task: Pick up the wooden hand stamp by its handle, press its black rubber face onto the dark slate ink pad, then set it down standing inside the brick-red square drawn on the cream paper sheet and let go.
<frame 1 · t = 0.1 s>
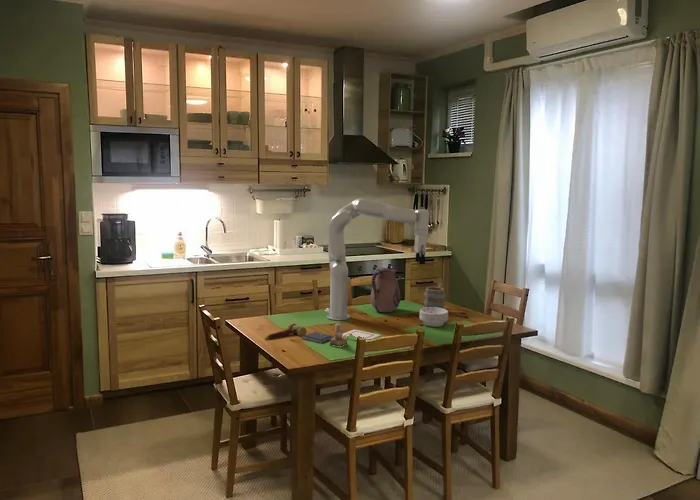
hand: (420, 262, 314), 31 cm above the table, tool pointing down, fingers open, 9 cm apart
gavel: (283, 337, 278), on the table
paper bowls: (433, 324, 304), on the table
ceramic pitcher: (383, 311, 330), on the table
stamp: (338, 345, 265), on the table
ink pad: (318, 338, 275), on the table
paper sheet: (358, 336, 280), on the table
tankard: (436, 310, 335), on the table
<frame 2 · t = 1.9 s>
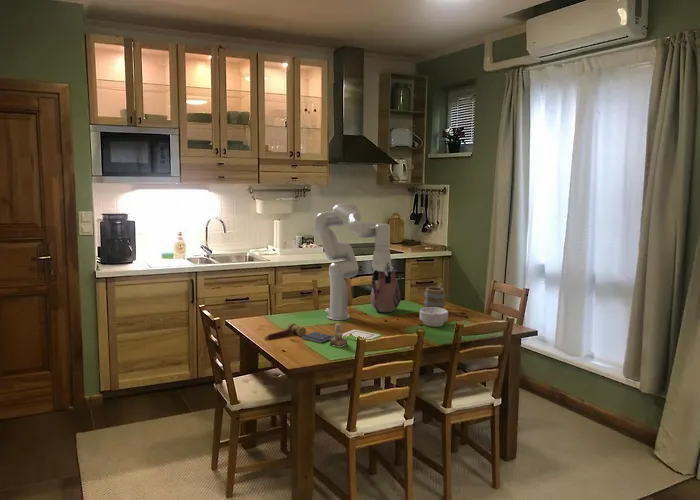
hand: (381, 281, 286), 26 cm above the table, tool pointing down, fingers open, 9 cm apart
nothing on the table moved.
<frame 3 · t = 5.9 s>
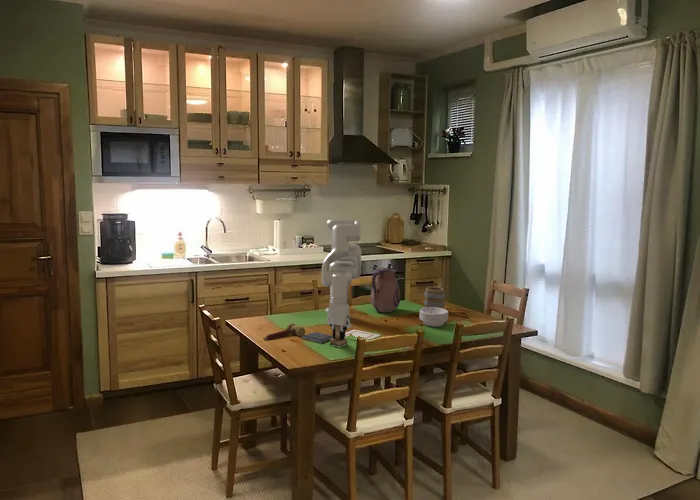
hand: (338, 338, 265), 3 cm above the table, tool pointing down, fingers closed on stamp, 3 cm apart
stamp: (338, 345, 265), on the table, touching gripper
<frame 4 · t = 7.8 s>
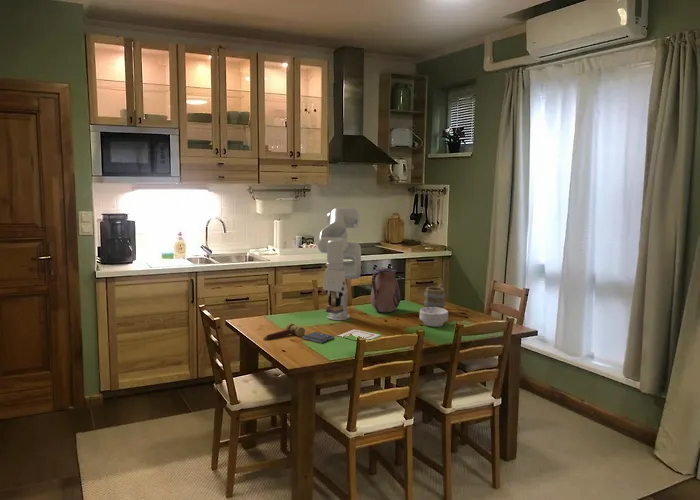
hand: (334, 304, 265), 19 cm above the table, tool pointing down, fingers closed on stamp, 3 cm apart
stamp: (334, 311, 265), point 15 cm above the table, touching gripper
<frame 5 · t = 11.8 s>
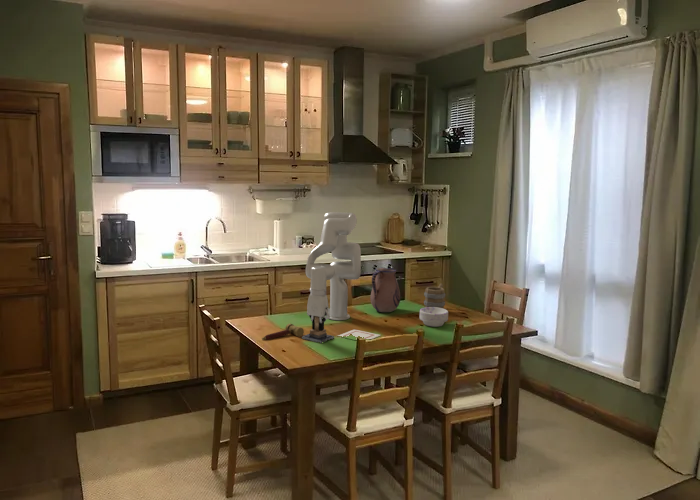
hand: (318, 329, 274), 5 cm above the table, tool pointing down, fingers closed on stamp, 3 cm apart
stamp: (317, 335, 274), point 2 cm above the table, touching gripper, ink pad
when the fingers open (4 cm above the table, at t = 17.9 s): stamp stays where it is, resting on paper sheet.
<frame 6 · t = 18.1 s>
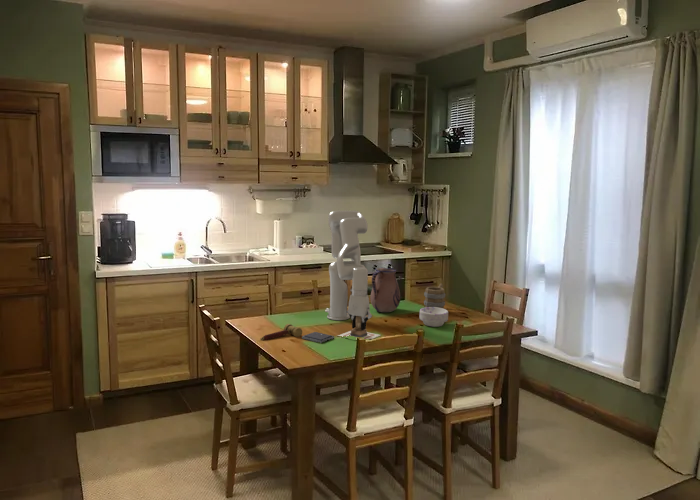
hand: (358, 328, 280), 4 cm above the table, tool pointing down, fingers open, 4 cm apart
stamp: (358, 335, 280), resting on paper sheet
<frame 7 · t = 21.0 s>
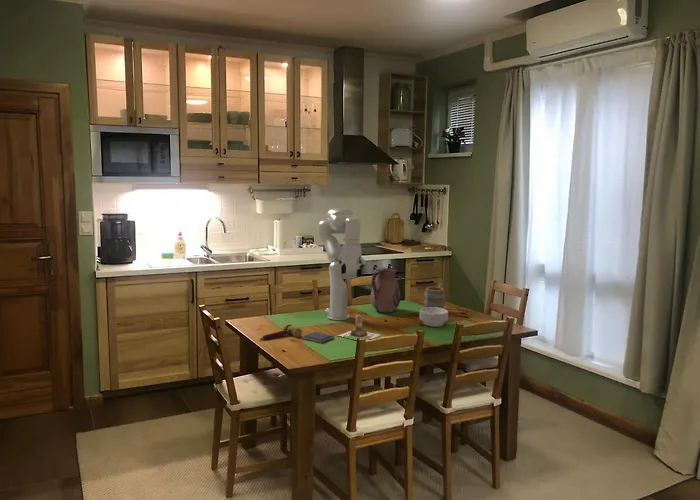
hand: (351, 274, 290), 28 cm above the table, tool pointing down, fingers open, 9 cm apart
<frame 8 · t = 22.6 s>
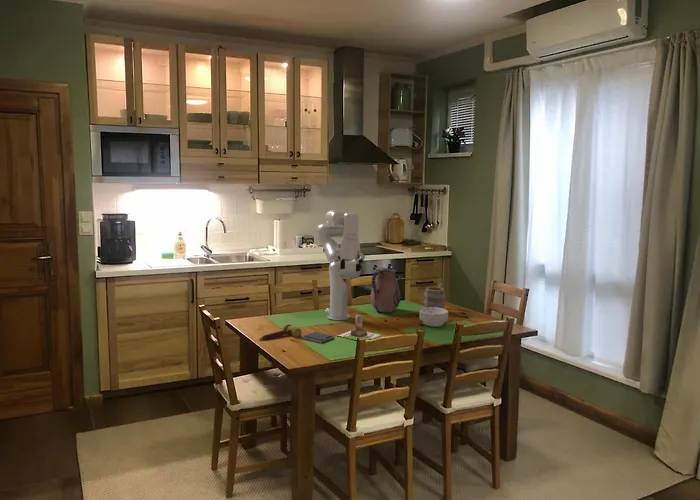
hand: (350, 270, 292), 30 cm above the table, tool pointing down, fingers open, 9 cm apart
at the end: stamp 0.1 cm off-centre on the paper sheet, point 0.3 cm above the paper sheet's base; stamp tilted 0°; the gripper is holding nothing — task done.
